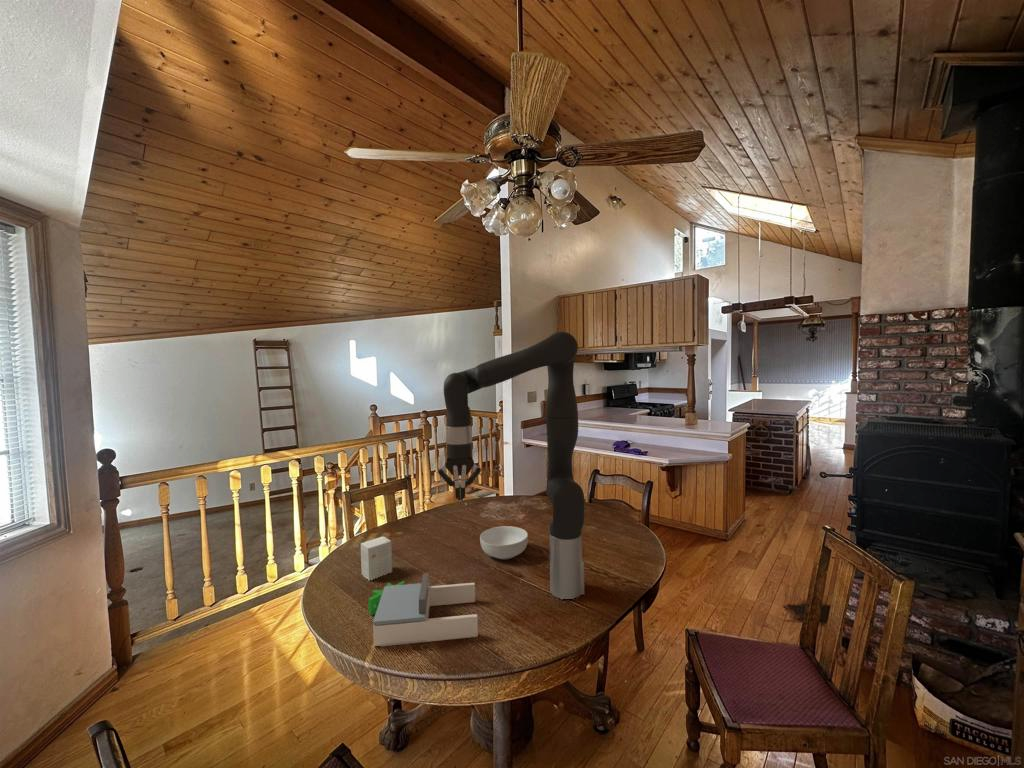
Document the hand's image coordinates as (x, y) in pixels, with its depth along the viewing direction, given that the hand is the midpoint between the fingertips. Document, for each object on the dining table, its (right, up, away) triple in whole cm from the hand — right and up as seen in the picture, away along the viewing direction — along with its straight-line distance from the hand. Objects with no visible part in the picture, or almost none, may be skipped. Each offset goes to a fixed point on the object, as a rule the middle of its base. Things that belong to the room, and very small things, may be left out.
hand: (460, 499), depth 120 cm
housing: (-6, -28, -14) cm, 32 cm away
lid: (-13, -22, -15) cm, 30 cm away
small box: (-28, -27, +11) cm, 41 cm away
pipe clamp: (-20, -28, -6) cm, 35 cm away
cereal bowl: (+12, -26, +24) cm, 38 cm away
